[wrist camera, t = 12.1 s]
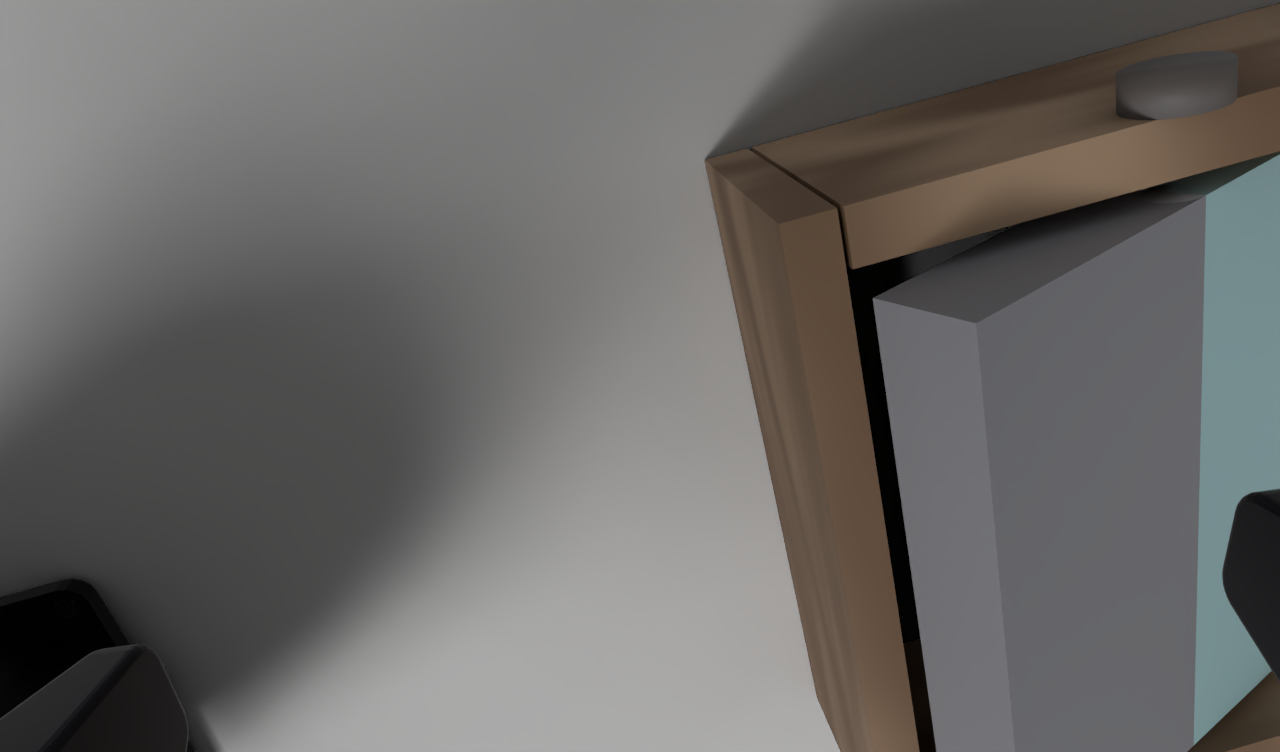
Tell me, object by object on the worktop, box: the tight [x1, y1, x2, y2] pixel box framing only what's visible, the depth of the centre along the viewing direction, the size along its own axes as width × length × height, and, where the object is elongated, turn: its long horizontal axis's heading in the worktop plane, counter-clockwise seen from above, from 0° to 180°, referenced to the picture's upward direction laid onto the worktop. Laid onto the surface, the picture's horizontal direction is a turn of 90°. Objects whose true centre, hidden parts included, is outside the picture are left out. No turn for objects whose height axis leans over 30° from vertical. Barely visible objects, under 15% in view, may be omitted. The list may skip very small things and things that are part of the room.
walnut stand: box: [705, 3, 1280, 752], centre depth 19 cm, size 14×16×6 cm
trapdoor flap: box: [873, 151, 1280, 752], centre depth 18 cm, size 12×12×2 cm
